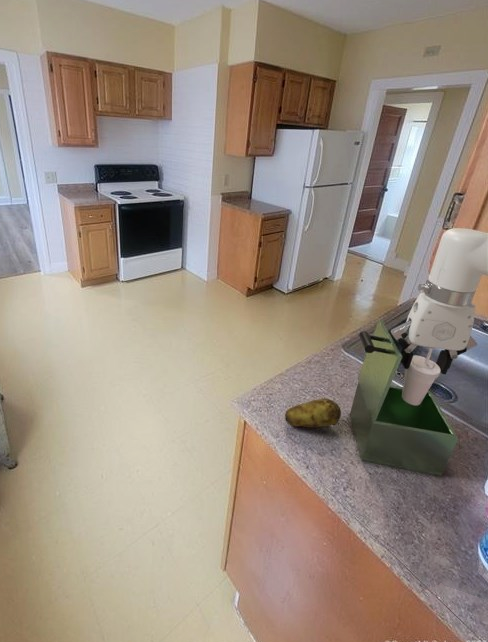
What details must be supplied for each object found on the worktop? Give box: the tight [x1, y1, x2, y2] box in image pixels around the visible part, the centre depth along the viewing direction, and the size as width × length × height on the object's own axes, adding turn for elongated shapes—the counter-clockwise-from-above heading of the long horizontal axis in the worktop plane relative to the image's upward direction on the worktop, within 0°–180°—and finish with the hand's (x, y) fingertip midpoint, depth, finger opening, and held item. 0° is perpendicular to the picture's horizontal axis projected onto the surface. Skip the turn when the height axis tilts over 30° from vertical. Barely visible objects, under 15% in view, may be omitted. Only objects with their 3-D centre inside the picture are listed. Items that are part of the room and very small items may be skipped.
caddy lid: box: [357, 319, 402, 422], centre depth 72 cm, size 18×14×5 cm
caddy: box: [349, 380, 459, 477], centre depth 76 cm, size 17×14×12 cm
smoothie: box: [402, 347, 441, 405], centre depth 70 cm, size 6×6×14 cm
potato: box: [284, 397, 342, 428], centre depth 82 cm, size 8×13×8 cm, turn 67°
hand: (422, 366), depth 69 cm, fingers closed on smoothie, 6 cm apart
